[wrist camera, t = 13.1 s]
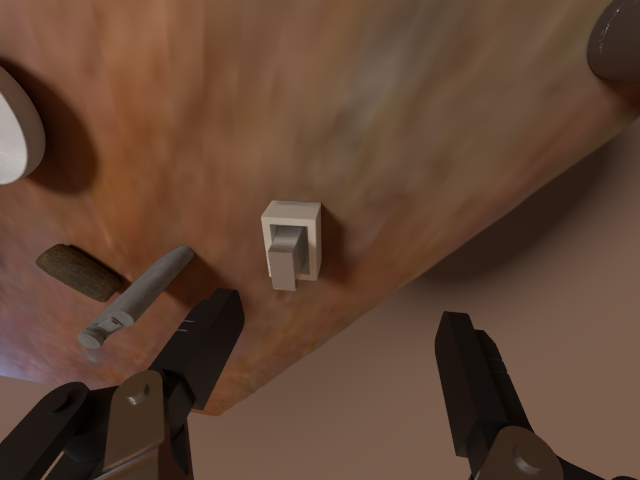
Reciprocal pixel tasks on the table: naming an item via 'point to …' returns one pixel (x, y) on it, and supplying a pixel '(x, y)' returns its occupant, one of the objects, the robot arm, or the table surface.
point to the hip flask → (136, 298)
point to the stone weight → (78, 272)
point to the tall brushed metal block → (288, 256)
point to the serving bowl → (18, 132)
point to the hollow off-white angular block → (296, 216)
